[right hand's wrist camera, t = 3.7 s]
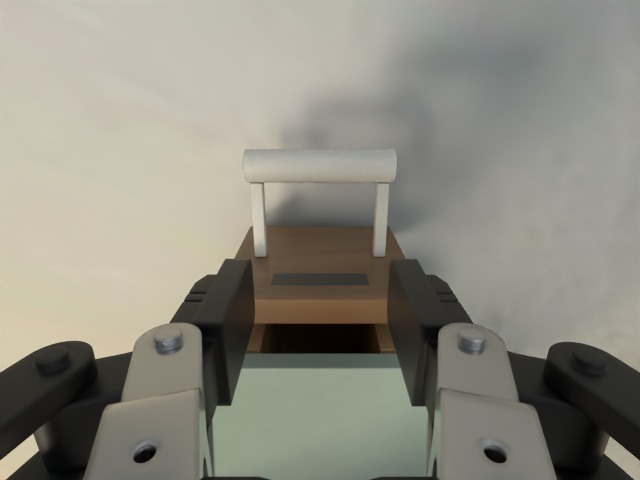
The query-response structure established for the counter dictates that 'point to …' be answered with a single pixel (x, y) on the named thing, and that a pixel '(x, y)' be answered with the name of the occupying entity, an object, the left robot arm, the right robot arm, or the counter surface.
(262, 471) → the sage green cube
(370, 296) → the drawer
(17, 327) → the counter surface
